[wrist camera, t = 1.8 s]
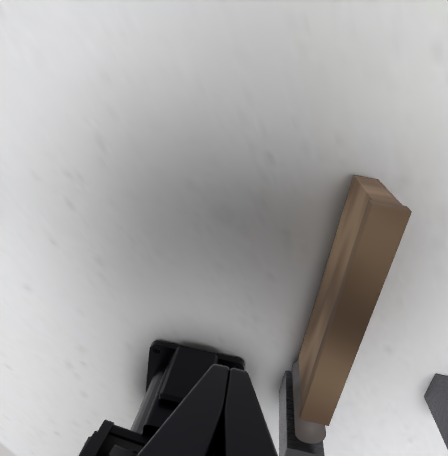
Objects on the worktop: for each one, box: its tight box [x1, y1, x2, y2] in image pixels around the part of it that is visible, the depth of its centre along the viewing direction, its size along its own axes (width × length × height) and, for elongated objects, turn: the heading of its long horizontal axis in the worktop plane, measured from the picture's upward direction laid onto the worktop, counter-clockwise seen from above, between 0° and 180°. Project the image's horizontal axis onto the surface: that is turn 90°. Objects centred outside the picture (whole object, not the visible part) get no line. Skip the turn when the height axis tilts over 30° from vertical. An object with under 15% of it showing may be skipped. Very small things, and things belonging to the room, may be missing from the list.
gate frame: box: [279, 371, 448, 456], centre depth 21 cm, size 2×12×6 cm, turn 96°
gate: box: [292, 175, 412, 444], centre depth 19 cm, size 14×2×5 cm, turn 171°
